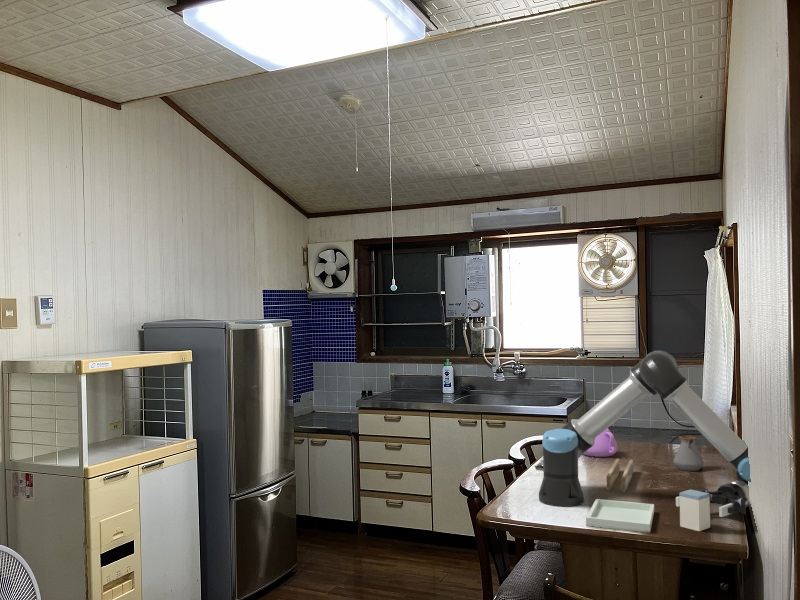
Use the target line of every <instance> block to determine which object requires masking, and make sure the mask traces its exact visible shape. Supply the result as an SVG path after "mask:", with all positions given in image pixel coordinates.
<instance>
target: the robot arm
mask: <svg viewBox="0 0 800 600" xmlns="http://www.w3.org/2000/svg"><path fill="white" fill-rule="evenodd" d="M657 394H658V395H659V396H660V398H661V399H663V400H664V401H668V402H670V403H671V404H672V405H673V406H674V407H675V408H676V409H677V410H678V411H679V413H681V414H682V415H683V416H684V417H685V419H686V420H688V422H690V423H691V425H693V427H694V428H696V430H698V432H699V433H700V434H701V435H702V436H703V437H704V438H705V439H706V440H707V441H708V442H709V443H710V444H711V445H712V447H714V449H716V450H717V451H718V452H719V453H720V454H721V455H722V457H723V458H725V459H726V460H727V462H729V464H731V466H732V467H733V468H734V469H735V480H734V481H731V482H730V481H729V482H727V483H725V484H724V483H723V484H722V485H720V486H719V487H718V489H717V490H715V491H709V489H707V488H705V489H697V490H696V491H700V492H705V493H709V495H710V504H717V505H721V506H719V507H718V514H719V515H718V517H720V518H723V517H726V516H729V515H732V514H734V513H735V514H739V513H740V514H742V515H746V514H747V513H746V512H747V510H746V509H747V507H748V506H749V504H750V503H749V486H748V481H749V482H751V479H750V464H749V457H748V446H747V445H746V443H745V441H744V440H745V439H744V440H742V439H741V438H740V436H738V434H736V433H735V432H734V431H733V430H732V429H731V428H730V426H729V425H728V424H727V423H726V422H725V421H723V419H721V418H720V416H718V414H717V413H715V412H714V410H713V409H712V408H710V407H709V405H708V404H707V403H705V401H704V400H703V399H701V397H700V396H699V395H698V394H697V393H696V392H695V391H694V390H693V389H692V388H691V387H690V386H689V384H688V379H687V378H686V377H685V376H683V375H682V373H681V371H679V364H678V361H677V360H676V359H675V358H674V356H673V355H671V354H670V353H669V352H667V351H664V350H654V351H651V352H649V353H647V355H645V357H644V358H643V359H642V360H639V362H638V363H637V364H636V365H634V366H633V367H632V368H631V369H629V376H628V377H627V378H626V379H624V381H622V382H621V383H620V384H619V385H618V386H616V387H615V388H614V389H613V390H611V391H610V392H609V393H608V394H607V395H605V396H604V397H603V398H602V399H601V400H600V401H599V402H597V403H596V404H595V405H594V406H593V407H591V409H589V410H588V411H587V412H585V414H583V415H582V416H581V417H580V418H578V419H577V418H576V419H574V418H572V419H571V420H569V421H568V422H567V423H566V424H564V426H562V427H561V428H553V429H550V430H547V431H545V432H544V433H543V436H542V460H543V470H542V472H543V478H542V481H541V484H540V488H539V490H538V500H539V502H540V503H543V504H546V505H551V506H557V507H573V506H580V505H583V504H584V503H585V494H584V491H583V487H582V485H581V482H580V478H579V458H580V457H582V456H583V455H584V453H585V452H586V451H587V450H589V449H590V448H591V447H592V446H593V445H594V444H595V438H596V437H597V436H599V435H600V434H601V433H602V432H603V431H605V430H606V429H609V427H611V426H612V425H613V424H615V422H617V421H618V420H619V419H620V418H622V417H623V416H624V415H625V414H626V413H628V412H629V411H630V410H632V409H633V408H634V407H635V406H636V405H637V404H639V403H640V402H641V401H642V400H644V399H645V398H646V397H647V396H650V397H655V396H656V395H657ZM683 491H684V490H682V491H681V490H680V492H683ZM675 506H676V507H679V508H680V496H676V497H675Z"/></svg>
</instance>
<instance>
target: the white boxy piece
mask: <svg viewBox="0 0 800 600" xmlns="http://www.w3.org/2000/svg"><path fill="white" fill-rule="evenodd" d="M682 491H683V492H681V491H680V492H679V496H680V506H679V527H680V528H681V527H682V528H686V529H687V530H688V529H689V530H692V531H697V532H701V531H704V530H707V529H709V528H711V509H710V508H711V507H710V506H711V503H710V495H709V493H705V492H700V491H696V490H695V489H688V490H682Z"/></svg>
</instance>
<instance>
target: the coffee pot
mask: <svg viewBox="0 0 800 600" xmlns="http://www.w3.org/2000/svg"><path fill="white" fill-rule="evenodd" d="M678 439H679V440H680V444H679V447H678V449H677V451H676V454H675V456H674V458H673V463H674V465H675V466H676V467H678V469H679V470H682V471H685V472H698V471H699V470H700V469H702V468H703V467H704V463H705V461H704V459H703V457H702V455H701V453H700V451H699V448H698V447H697V445H696V440H697V437H696V436H692V435H681V436H678Z"/></svg>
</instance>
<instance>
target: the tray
mask: <svg viewBox="0 0 800 600" xmlns="http://www.w3.org/2000/svg"><path fill="white" fill-rule="evenodd" d="M654 515H655V504H653V503H643V502H632V501H622V500H614V499H602V498H596V499H595V500H594V502H593V504H592V506H591V508H590V509H589V511H588V513H587V516H586V517H585V520H586V521H585V525H586V527H591V526H594V528H600V527H602V528H603V529H609V528H610V529H612V530H618V529H619V531H630V532H636V531H637V532H639V533H645V534H646V533H647V534H650V533H651V529H652V526H653V519H654ZM602 528H601V529H602Z"/></svg>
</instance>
